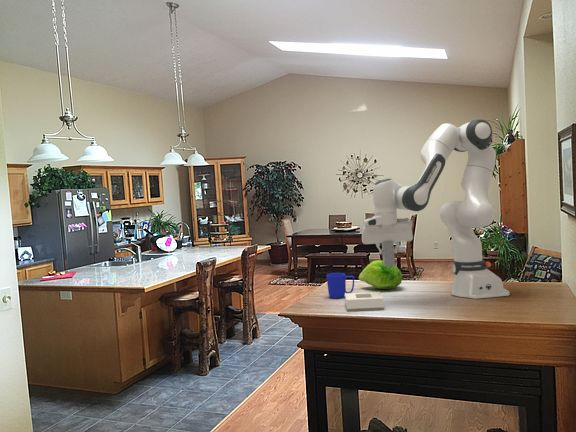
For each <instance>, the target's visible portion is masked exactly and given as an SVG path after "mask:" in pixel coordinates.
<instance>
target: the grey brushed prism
mask: <svg viewBox="0 0 576 432" xmlns="http://www.w3.org/2000/svg"><path fill="white" fill-rule="evenodd" d="M394 244H395V242H393V241H383V243H381V250H382V249H383V253H384V254H382V261H383V265H384V266H385V267H386V266H395V265H396V262H395V260H396V259H395V258H396V257H395V253H394V249H395V246H394Z"/></svg>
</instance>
